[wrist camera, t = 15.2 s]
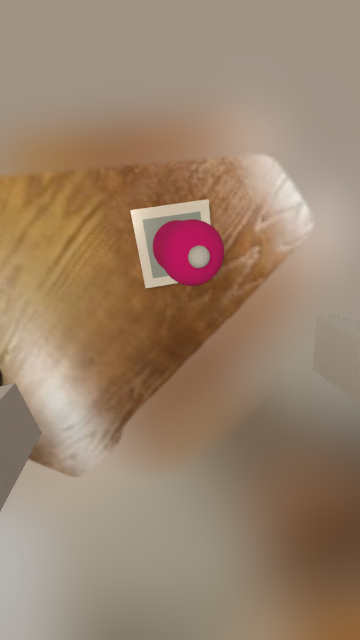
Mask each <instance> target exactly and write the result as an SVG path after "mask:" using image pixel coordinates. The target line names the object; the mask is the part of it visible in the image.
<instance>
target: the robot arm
mask: <svg viewBox="0 0 360 640" xmlns="http://www.w3.org/2000/svg"><path fill="white" fill-rule="evenodd" d="M313 369H314V370H316V371H317V372H318V373H319V374H321V375H322V376H323V377H325V378H326V379H327V380H328V381H330V382H331V383H332V384H333V385H335V386H336V387H337V388H338V389H340V390H341V391H342V392H343V393H345V394H346V395H347V396H349V397H350V398H351V399H352V400H354V401H355V402H356V403H357V404H359V405H360V325H358V324H356V323H353V322H351V321H348V320H346V319H344V318H341V317H339V316H336V315H334V314H330V315H325V316H321V317H317V321H316V336H315V352H314V367H313ZM40 435H41V431H40V429H39V427H38V425H37V423H36V422H35V420H34V418H33V416H32V414H31V412H30V410H29V408H28V407H27V405H26V403H25V401H24V399H23V397H22V395H21V393H20V392H19V390H18V388H17V386H16V384H15V383H13V384H9V385H4V386H1V374H0V511H1V508H2V507H3V505H4V503H5V501H6V499H7V497H8V496H9V494H10V492H11V490H12V488H13V486H14V484H15V482H16V480H17V478H18V476H19V474H20V473H21V471H22V469H23V467H24V465H25V463H26V461H27V460H28V458H29V456H30V454H31V452H32V450H33V448H34V446H35V444H36V442H37V441H38V439H39V437H40Z"/></svg>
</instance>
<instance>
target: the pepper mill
mask: <svg viewBox="0 0 360 640" xmlns="http://www.w3.org/2000/svg"><path fill="white" fill-rule="evenodd" d="M153 254H154V257H155V259H156V261H157V262H158V264H159V265H160V266H161V267H162V268H164V269H165V271H166V273H167V274H168V275H169V276H170V277H171V278H172V279H173V280H175V281H176V282H178V283H181V284H183V285H188V286H195V285H200V284H203V283H206V282H207V281H209V280H210V279H212V278H213V277H214V276H215V275H216V274H217V272H218V271H219V269H220V267H221V265H222V262H223V257H224V246H223V242H222V239H221V237H220V235H219V233H218V232H217V231H216V229H215V228H214V227H212V226H211V225H210V224H208V223H206V222H204V221H201V220H197V219H189V220H184V221H182V220H173V221H170V222H167V223H165V224H164V225H162V226H161V227H160V228H159V229H158V231H157V232H156V234H155V236H154V240H153Z"/></svg>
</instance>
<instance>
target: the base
mask: <svg viewBox="0 0 360 640" xmlns="http://www.w3.org/2000/svg"><path fill="white" fill-rule="evenodd" d="M130 211H131V216H132V221H133V226H134V231H135V236H136V241H137V246H138V251H139V256H140V262H141V267H142V272H143V277H144V282H145V287H146V288H151V287H157V286H163V285H169V284H175V283H178V282H176V281H175V280H173V279H172V278H171V277H170V276H169V275H168V274H167V273H166V271H165V269H164V268H162V267H161V266H160V265H159V264H158V262H157V261H156V259H155V257H154V254H153V240H154V236H155V234H156V232H157V231H158V229H159V228H160V227H161V226H162V225H164V224H165V223H167V222H170V221H173V220H182V221H184V220H189V219H197V220H201V221H204V222H206V223H208V224H210V212H209V199H208V200H201V201H193V202H186V203H179V204H172V205H165V206H158V207H151V208H144V209H136V210H130ZM210 225H211V224H210ZM214 277H215V276H214Z"/></svg>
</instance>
